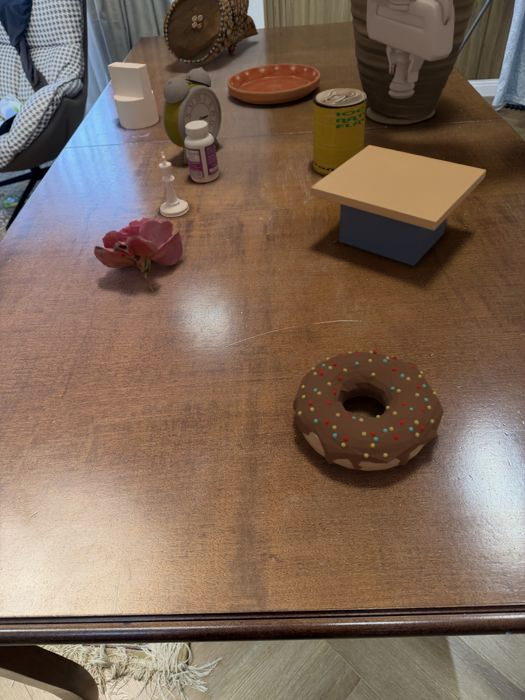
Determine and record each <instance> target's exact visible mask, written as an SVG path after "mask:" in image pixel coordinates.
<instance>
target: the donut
mask: <svg viewBox="0 0 525 700" xmlns="http://www.w3.org/2000/svg"><path fill="white" fill-rule="evenodd" d="M356 397H365V398H367V397H368V398H371V399H373V400H376V401H378V402H379V403H380V404H381V405H383V407H384V412H383V413H382V414H381V415H379V414H377V415H375V417H369V416H364V415H360V414H356V413H353V412H352V411H349V410H346V409H345V407H344V405H343V404H344V403H345V402H346V401H347V400H350V399H352V398H356ZM292 408H293V411H294V416H293V421H294V422H295V424H296V426H297V427H298V429H299V430H300V432H301V434H302V435H303V437H304V439H305V440H306V441H307V443H308V444H309V445H310V446H311V447H312V448H313V449H314V451H315V452H316V453H318V454H319V455H321V456H322V457H323V458H324V459H325V460H326V462H327V463H328V465H332V464H337V465H339V466H342V467H344V468H347V469H352V470H356V471H367V472H368V471H380V470H382V471H384V470H388V469H391V468H393V467H394V468H395V467H398V466H406V465H407V463H408V461H409V460H411V459H412V458H414V457H415V456H417V454H419V452H420V451H421V450H422V449H423V448H424V446H425V445H426V444H428V443H429V442H431V441H432V440H434V439H435V438H436V437H437V436H438V429H439V426H440V424H441V420H442V417H443V415H444V409H443V406H442V404H441V402H440V399H439V397H438V396H437V391H434V390H433V389H432V387H431V385H430V383H429V382H428V381H427V379H426V378H425V376H424V372H423V371H422V370H420V369H419V367H418V366H417V365H416V364H415V363H412V362H408V361H403V360H402V359H399V358H397V356H395V355H391V356H390V355H385V354H384V355H383V354H380V353H378V351H377V350H373V351H372V350H370V351H357V350H356V351H355V352H352V351H348V353H339V355H335V356H332V357H326V359H325V360H324V361H322V362H320V363H318V364H316V365H315V366H313V367H311V368H310V370H309V371H308V372H307V373H306V374H305V375H304V376H303V377H302V379H301V382H300V384H299V387H298V389H297V392H296V395H295V397H294V400H293V403H292Z"/></svg>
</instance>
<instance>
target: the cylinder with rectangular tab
mask: <svg viewBox="0 0 525 700" xmlns="http://www.w3.org/2000/svg"><path fill="white" fill-rule="evenodd" d="M107 69H108V73H109V76H110V77H109V78H110V82H111V85H112V89H113V94H114V95H113V100H114V105H115V107H116V112H117V116H118V121H119V123H120V126H121V128H124V129H126V130H141V129H145V128H149V127H151V126H154V125H156V124H157V123H158V122H159V120H160V116H159V113H158V107H157V102H156V97H155V94H154V93H155V92H154V90H152V85H151V81H150V76H149V72H148V67H147V64H146V63H136V62H135V63H134V62H123V61H122V62H120V61H115V62H112V63H110V64H108V65H107Z"/></svg>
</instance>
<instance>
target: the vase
mask: <svg viewBox="0 0 525 700" xmlns="http://www.w3.org/2000/svg"><path fill="white" fill-rule="evenodd" d="M475 2H476V0H453V6H454V35H453V45H452V51H451V52H450V54H449V56H448V57H447V58H444V59H440V60H436V61H428V60H424V62H423V64H422V66H421V68H420V70H419V73H418V80H417V81H416V82H414V85H415V87H414V88H413V90H414V94H413V95H412V96H411V97H408V98H403V99H397V98H393V97H391V96H390V95H389V91H390V90H391V89H390V88H389V87H390V84H391V83H392V82H393V81H392V80H393V79H394V76H393V75H391V74H389V66H390V63H389V60H388V56H387V52H386V50H387V45H386V44H383V43H380V42H378V41H375V40H372V39H370V38H369V36H368V33H367V0H350V13H351V17H352V19H351V21H352V22H351V24H352V27H353V38H354V55H355V58H356V68H357V70H358V77H359V80H360V85H361V89H362V91H363V92H364V93H365V94H366V95H367V97H366V103H367V105H368V106H369V107H367V108H366V112H365V115H366V116H367V117H368V118H369V119H371V120H373V121H375V122H378V123H381V124H388V125H409V124H410V125H411V124H415V123H418V122H422V121H424V120H428V119H429V118H432V117H433V116H434V115H435V113H436V107H437V106H438V103H439V101H440V100H441V96H442V93H443V90H444V89H445V87H446V85H447V83H448V81H449V77H450V75H451V74H452V72H453V69H454V65H455V64H456V62H457V60H458V56H459V53H460V49H461V48H462V45H463V44H464V41H465V34H466V30H467V29H468V26H469V21H470V20H471V19H470V18H471V16H472V13H473V7H474V5H475Z"/></svg>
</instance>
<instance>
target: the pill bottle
mask: <svg viewBox="0 0 525 700" xmlns="http://www.w3.org/2000/svg"><path fill="white" fill-rule="evenodd" d="M185 129H186V134H187V135H188V136H187V137H186V138H185V141H184V144H185V149H186V155H187V160H188V164H187V165H188V169H189V175H190V178H191V180H192V181H194V182H196V183H201V184H203V183H210V182H213V181H215V180H216V179H218V178H219V175H220V171H219V170H220V169H219V161H218V155H217V149H216V148H217V147H216V146H215V142H214V138H213V136H212V135H211V134H210V133H208V132H209V128H208V123H207V122H206V121H201V120H199V121H192V122H189V123H187V124H186V125H185Z"/></svg>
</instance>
